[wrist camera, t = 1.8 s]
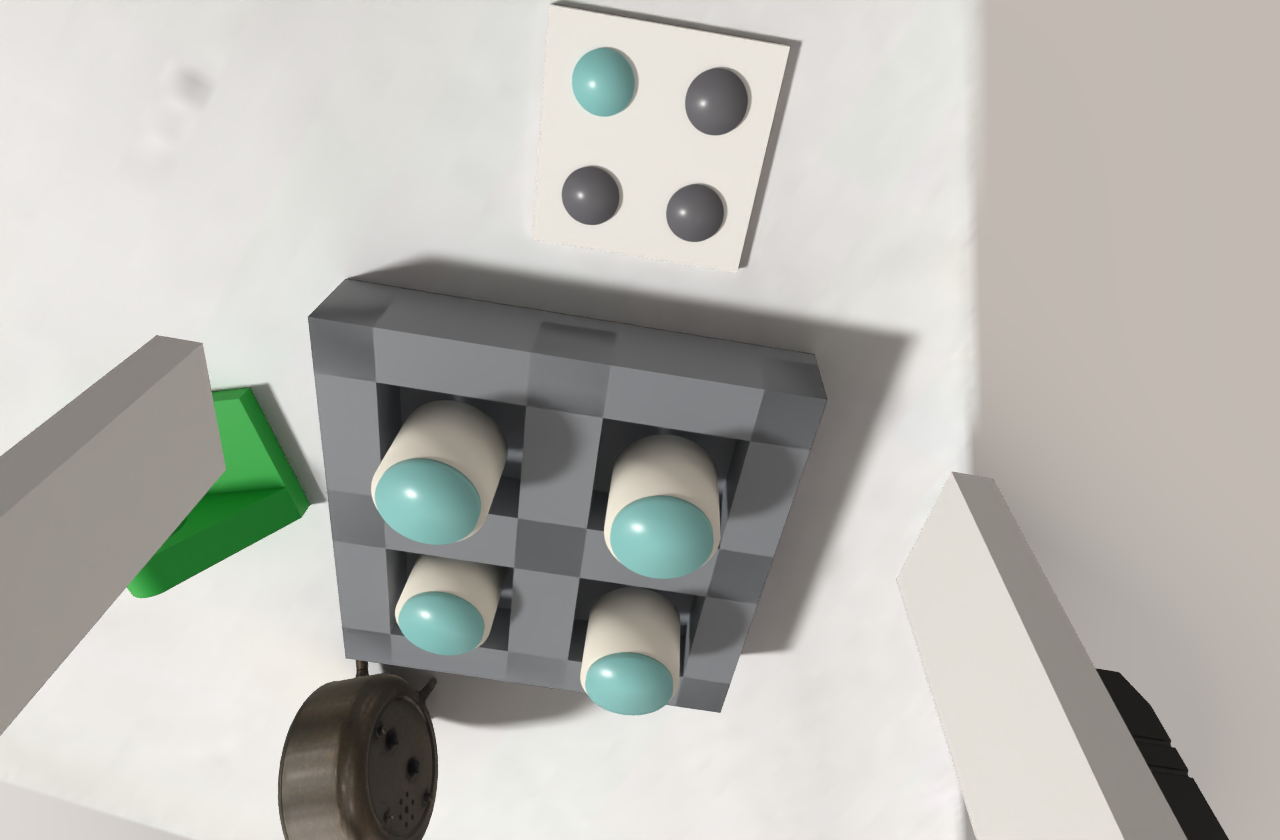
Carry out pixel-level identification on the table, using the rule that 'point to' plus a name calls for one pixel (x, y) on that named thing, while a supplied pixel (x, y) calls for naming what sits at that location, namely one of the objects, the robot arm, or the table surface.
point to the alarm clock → (360, 762)
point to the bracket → (229, 499)
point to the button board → (555, 470)
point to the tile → (652, 137)
